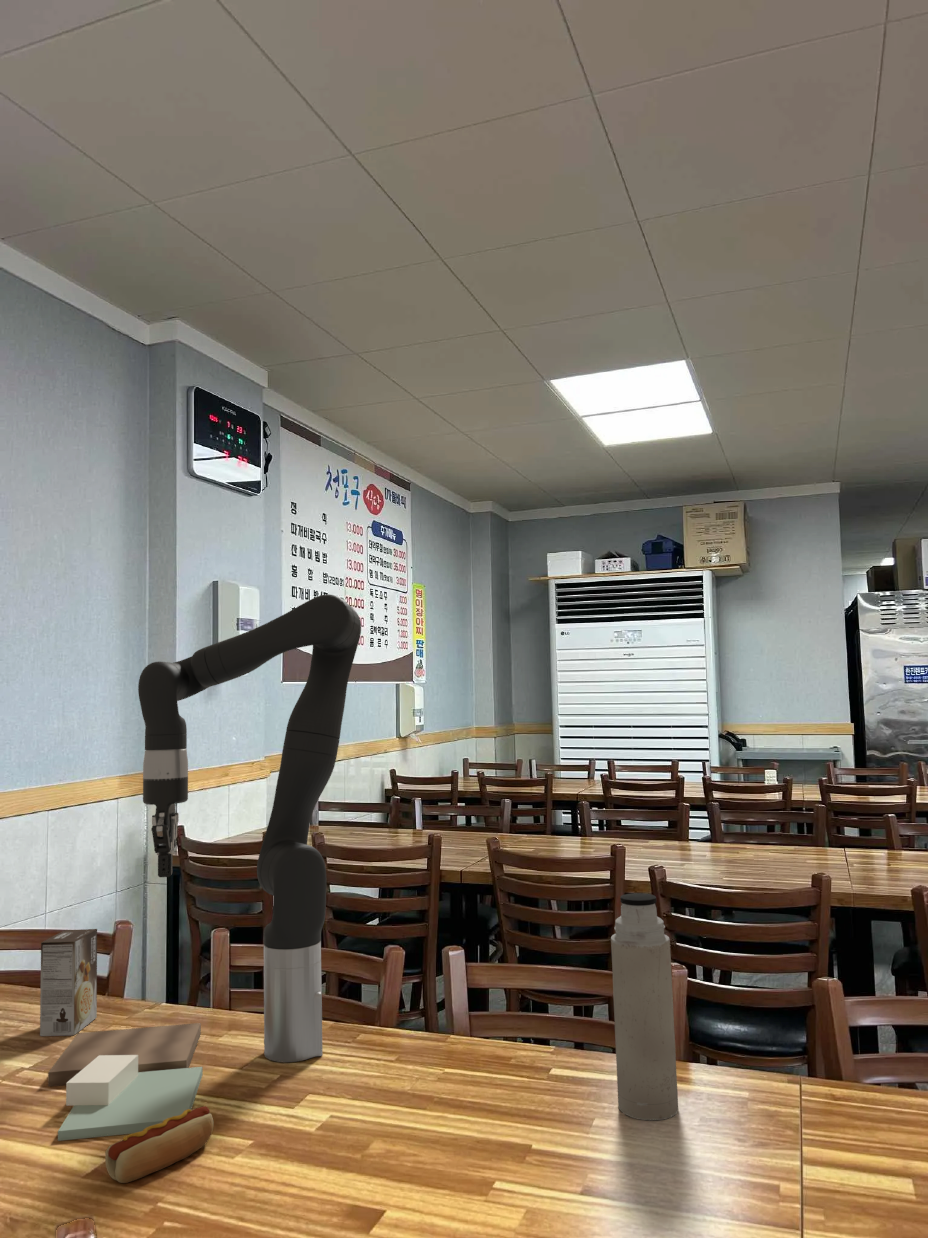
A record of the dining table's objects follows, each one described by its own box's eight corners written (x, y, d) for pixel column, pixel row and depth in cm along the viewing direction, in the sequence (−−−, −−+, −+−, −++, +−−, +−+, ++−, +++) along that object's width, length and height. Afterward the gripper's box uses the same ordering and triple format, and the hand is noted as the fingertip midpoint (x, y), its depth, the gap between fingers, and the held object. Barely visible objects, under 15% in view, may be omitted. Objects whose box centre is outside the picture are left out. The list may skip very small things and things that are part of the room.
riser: (200, 1035, 154) (200, 1023, 154) (186, 1074, 137) (186, 1060, 138) (77, 1045, 151) (77, 1033, 151) (47, 1086, 134) (48, 1072, 134)
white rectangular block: (138, 1076, 134) (138, 1055, 134) (108, 1105, 124) (108, 1082, 124) (98, 1076, 134) (99, 1055, 135) (66, 1105, 124) (66, 1083, 125)
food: (122, 1196, 103) (123, 1150, 104) (96, 1182, 106) (97, 1137, 107) (222, 1147, 114) (222, 1106, 115) (195, 1136, 117) (195, 1096, 118)
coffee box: (63, 1019, 165) (64, 929, 166) (97, 1018, 164) (98, 928, 166) (38, 1037, 155) (40, 941, 157) (74, 1036, 155) (76, 940, 157)
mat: (202, 1075, 137) (202, 1066, 137) (185, 1128, 119) (185, 1118, 119) (92, 1085, 134) (92, 1076, 134) (57, 1141, 117) (58, 1131, 117)
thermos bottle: (626, 1091, 127) (617, 888, 129) (683, 1100, 123) (672, 891, 126) (611, 1115, 119) (601, 899, 122) (671, 1125, 116) (660, 903, 119)
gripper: (182, 777, 152) (181, 882, 150) (192, 772, 165) (192, 869, 163) (135, 779, 151) (134, 885, 149) (150, 774, 163) (149, 871, 162)
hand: (165, 876), depth 156 cm, fingers closed
